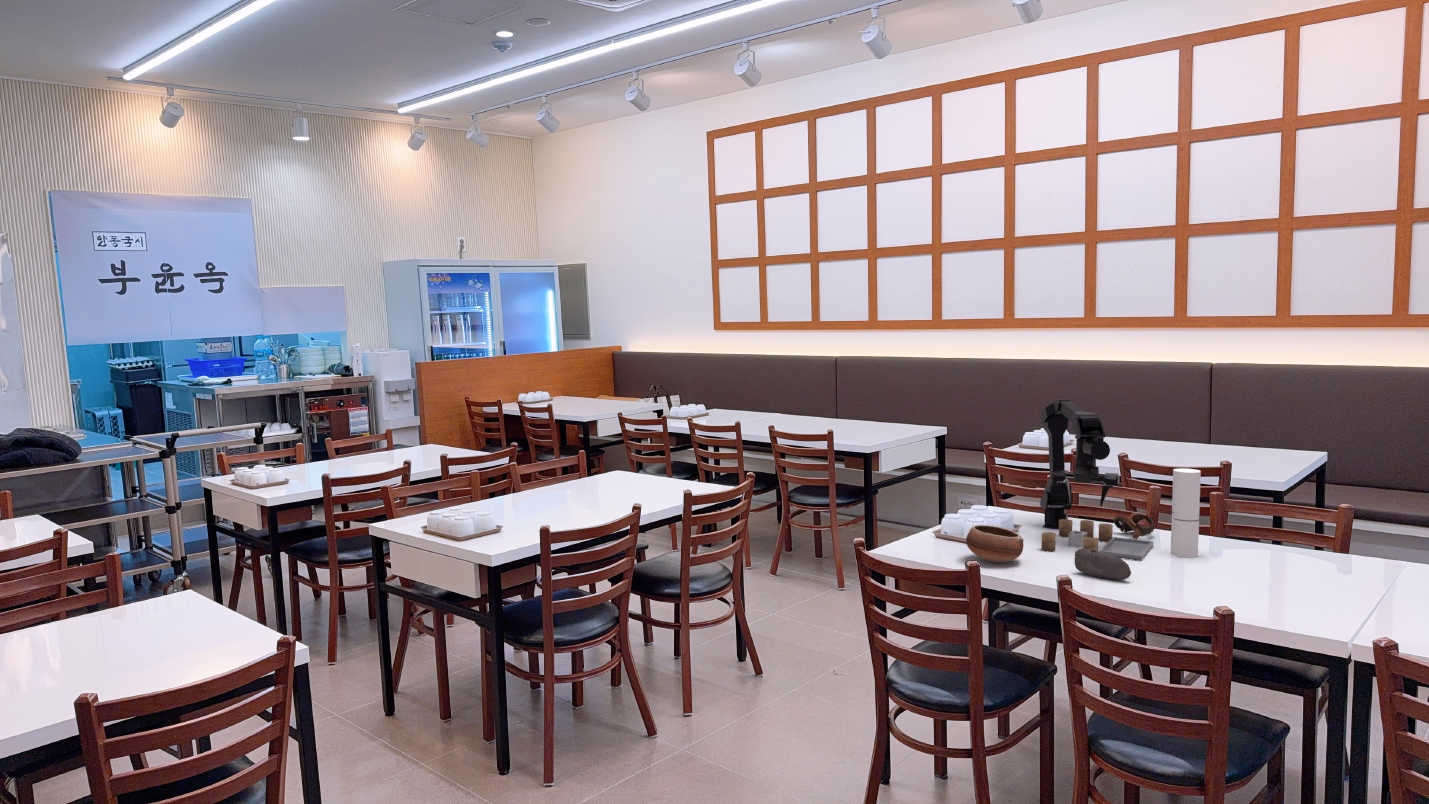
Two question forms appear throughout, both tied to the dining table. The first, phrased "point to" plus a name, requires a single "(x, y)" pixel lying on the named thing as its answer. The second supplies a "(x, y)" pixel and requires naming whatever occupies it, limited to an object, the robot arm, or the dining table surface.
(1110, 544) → the slate tray
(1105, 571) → the perforated stone tool
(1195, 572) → the dining table surface
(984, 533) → the bowl
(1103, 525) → the posts
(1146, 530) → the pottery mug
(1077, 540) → the steel nut
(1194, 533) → the cylindrical container
